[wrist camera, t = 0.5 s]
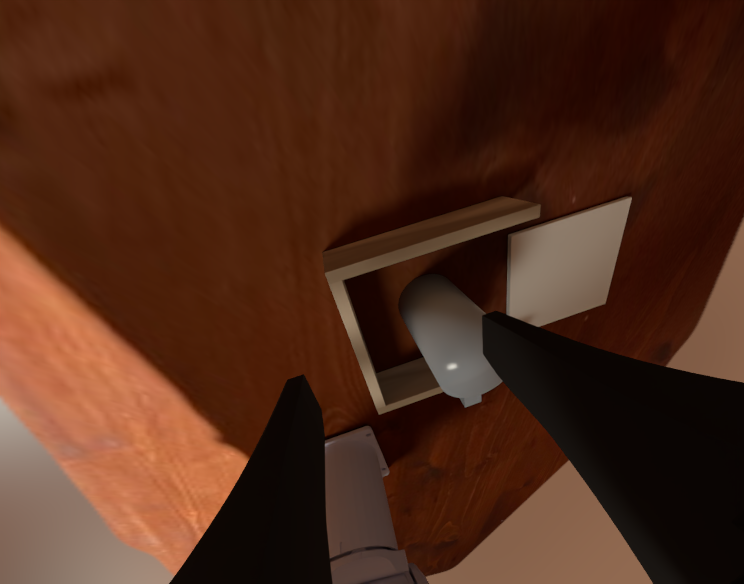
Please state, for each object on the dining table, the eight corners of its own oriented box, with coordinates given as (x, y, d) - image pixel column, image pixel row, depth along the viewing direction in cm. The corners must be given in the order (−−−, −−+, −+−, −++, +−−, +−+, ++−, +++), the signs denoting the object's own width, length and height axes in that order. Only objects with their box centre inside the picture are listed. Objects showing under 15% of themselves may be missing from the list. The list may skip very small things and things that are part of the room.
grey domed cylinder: (392, 285, 20) (433, 350, 13) (452, 265, 20) (520, 320, 13) (408, 352, 23) (446, 430, 17) (459, 335, 23) (515, 405, 17)
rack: (501, 336, 25) (527, 361, 22) (370, 381, 24) (378, 414, 21) (502, 196, 18) (540, 204, 15) (322, 252, 17) (324, 273, 14)
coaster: (601, 301, 25) (605, 303, 25) (506, 334, 25) (508, 337, 24) (626, 196, 20) (632, 197, 20) (508, 234, 20) (511, 235, 19)
